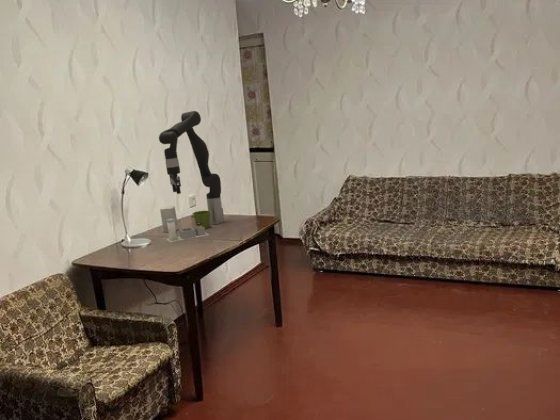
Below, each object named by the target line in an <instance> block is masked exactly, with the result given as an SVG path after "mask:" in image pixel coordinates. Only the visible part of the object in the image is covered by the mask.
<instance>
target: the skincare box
mask: <svg viewBox="0 0 560 420" xmlns="http://www.w3.org/2000/svg"><path fill="white" fill-rule="evenodd" d="M159 211H160V216H161V223H162V229H163V233H164V234H165V233H169V232H168V225H167V219H172V218H174V219H175V227H176V232H177V231H179V226H178V218H177V214H176V206H164V207H162V208H160V209H159Z"/></svg>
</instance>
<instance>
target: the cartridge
mask: <svg viewBox="0 0 560 420" xmlns="http://www.w3.org/2000/svg"><path fill="white" fill-rule="evenodd" d="M167 225H168V232H167V233H168V238H169V240H176V239H177V237H178V235H177V234H178V233H177V231H176V227H175V219H174V218H172V219H167Z"/></svg>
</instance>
